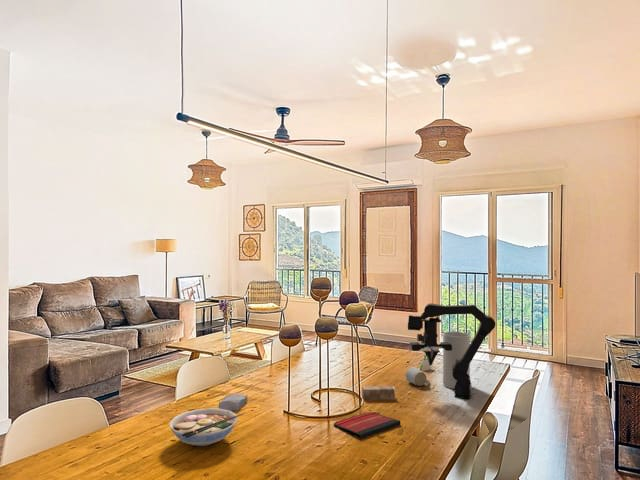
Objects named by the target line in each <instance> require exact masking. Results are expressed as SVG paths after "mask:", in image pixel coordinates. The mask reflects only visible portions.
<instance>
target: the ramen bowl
mask: <svg viewBox="0 0 640 480" xmlns="http://www.w3.org/2000/svg"><path fill="white" fill-rule="evenodd" d="M241 416H244V412H242V413H240V414H236V413H235V412H233V411H232V410H223V409H220V408H210V407H208V408H199V409H194V410H190V411H185V412H182V413H180V414H179V415H176V416H175V417H173V419H170V422H169V427H170V430H171V432H172V433H173V434H174V435H175V437H177V438H178V439H179V440H180V442H183V443H184V444H187V445H190V446H191V445H192V446H197V447H208V446H210V445H212V444H215V443H219V442H220V441H222V440H223V439H225V438H226V437H227V436H228V435H229V434H230V433H231V432H232V430H233V429H234V427H235V426H236V424H237V422H238V420H239V419H238V417H241Z"/></svg>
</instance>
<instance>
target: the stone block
mask: <svg viewBox="0 0 640 480" xmlns="http://www.w3.org/2000/svg"><path fill="white" fill-rule="evenodd" d="M248 400H249V399H248V395H247V394H241V393H233V394H229V395H226V396H224V397H223V399H221V401H219V402H218V407H219V408H218V409H223V410H228V411H232V412H233V411H239V410H240V411H241V409H242V407H245V405H246V404H247V403H248Z"/></svg>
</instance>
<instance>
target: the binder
mask: <svg viewBox="0 0 640 480" xmlns="http://www.w3.org/2000/svg"><path fill="white" fill-rule="evenodd" d="M399 426H401V420H399V419H396V418H392V417H388V416H385V415H382V414H381V413H380V414H379V413H376V412H373V411H372V412H371V411H370V412H365V413H360V414H356V415H353V416H349V417H346V418H343V419H341V420H338V421H336V422H333V427H335V428H336V429H338V430H341V431H342V432H344V433H347V434H348V435H350V436H353V437H356V436H359V439H360V440H364V439H365V438H369V437H371V436H374V435H376V434H377V435H378V434H380V433H382V432H385V431H387V430H390V429H394V428H396V427H399Z"/></svg>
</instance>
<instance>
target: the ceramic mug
mask: <svg viewBox="0 0 640 480" xmlns="http://www.w3.org/2000/svg"><path fill="white" fill-rule="evenodd" d="M405 379H406V381H407V382H408V383H411V385H415V386H417V387H422V386H424V385H425V384H429V383H430V380H429V379H427V375H426V374H425V372H424V371H421V370H420V368H417V367H415V366H411V367H409V368H407V370H406V371H405Z"/></svg>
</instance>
